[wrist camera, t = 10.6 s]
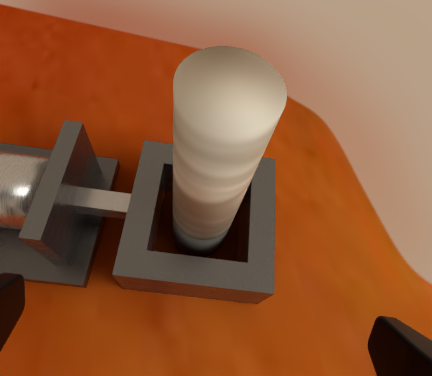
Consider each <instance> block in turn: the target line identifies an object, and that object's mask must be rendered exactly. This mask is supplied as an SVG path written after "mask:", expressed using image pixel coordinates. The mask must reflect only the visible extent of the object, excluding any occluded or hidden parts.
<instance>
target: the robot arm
mask: <svg viewBox="0 0 432 376" xmlns="http://www.w3.org/2000/svg"><path fill="white" fill-rule="evenodd" d="M24 306H25V283H24V277H23V276H22V275H21V274H16V273H7V272H5V273H1V274H0V351H1V350H2V348H3V346H4V344H5V343H6V341H7V339H8V337H9V336H10V334H11V332H12V330H13V328H14V327H15V325H16V323H17V321H18V320H19V318H20V316H21V314H22V312H23V310H24ZM368 351H369V354H370V357H371V360H372V363H373V366H374V368H375V371H376V374H377V376H432V340H430V339H428V338H427V337H425V336H424V335H422V334H420V333H419V332H417V331H416V330H414V329H412V328H411V327H409V326H408V325H406V324H404V323H403V322H401V321H400V320H398V319H396V318H394V317H386V316H379V317H377V318H376V320H375V323H374V325H373V328H372V331H371V334H370V337H369V340H368Z"/></svg>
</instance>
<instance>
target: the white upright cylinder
mask: <svg viewBox="0 0 432 376" xmlns="http://www.w3.org/2000/svg"><path fill="white" fill-rule="evenodd" d="M286 100H287V91H286V86H285V83H284V81H283V79H282V77H281V75H280V74H279V72H278V71H277V70H276V69H275V67H274V66H273V65H271V64H270V63H269V62H268V61H267V60H265V59H264V58H262V57H260V56H259V55H257V54H255V53H253V52H250V51H247V50H244V49H240V48H236V47H228V46H216V47H209V48H205V49H201V50H199V51H196V52H194V53H192V54H191V55H189V56H188V57H187V58H185V59H184V60H183V61H182V62H181V63H180V65H179V66H178V68H177V70H176V72H175V75H174V82H173V239H174V242H175V245H176V246H177V248H178V249H179V250H180V251H181V252H182V253H183V254H185V255H188V256H196V257H204V258H206V257H209V256H211V255H213V254H214V253H216V252H217V251H218V250H219V248H220V247H221V245H222V243H223V241H224V239H225V237H226V235H227V232H228V230H229V228H230V226H231V224H232V221H233V219H234V217H235V215H236V213H237V210H238V208H239V206H240V204H241V202H242V199H243V197H244V195H245V193H246V191H247V188H248V186H249V184H250V182H251V180H252V178H253V175H254V173H255V171H256V169H257V167H258V164H259V162H260V160H261V158H262V156H263V153H264V151H265V149H266V147H267V145H268V142H269V140H270V138H271V136H272V134H273V132H274V129H275V127H276V125H277V123H278V121H279V118H280V116H281V114H282V112H283V110H284V107H285V105H286Z"/></svg>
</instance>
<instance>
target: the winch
mask: <svg viewBox="0 0 432 376" xmlns="http://www.w3.org/2000/svg"><path fill="white" fill-rule="evenodd" d="M119 166H120V164H119V161H118V159H112V158H105V157H98V156H95V153H94V151H93V148H92V146H91V143H90V141H89V138H88V135H87V133H86V130H85V128H84V125H83V123H80V122H73V121H66V120H65V121H64V123H63V126H62V128H61V131H60V133H59V136H58V138H57V141H56V144H55V146H54V149H53V150H48V149H41V148H34V147H27V146H20V145H13V144H6V143H0V274H1V273H5V272H7V273H16V274H21V275H22V276H23V277H24V281H32V282H40V283H49V284H58V285H66V286H75V287H84V288H86V287H87V283H88V279H89V276H90V272H91V268H92V265H93V261H94V257H95V254H96V250H97V246H98V243H99V239H100V235H101V232H102V228H103V224H104V221H105V217H111V218H119V219H125V223H124V227H123V231H122V235H121V239H120V244H119V248H118V252H117V256H116V260H115V264H114V268H113V273H112V276H113V277H114V278H115V279H116V281H117V282H118V283H119V285H120V286H121V287H122V288H123V289H130V290H139V291H148V292H156V293H165V294H174V295H182V296H191V297H200V298H208V299H217V300H225V301H234V302H243V303H251V304H258V303H260V302H261V301H263V300H265V299H267V298H268V297H270V296H272V295H273V294H274V251H275V159H271V158H264V157H262V158H261V160H260V162H259V164H258V167H257V169H256V171H255V173H254V175H253V178H252V180H251V182H250V184H249V186H248V188H247V191H246V193H245V195H244V197H243V199H242V202H241V204H240V214H239V230H238V246H237V261H229V260H221V259H213V258H204V257H196V256H188V255H180V254H172V253H164V252H156V251H154V249H155V243H156V238H157V233H158V227H159V222H160V217H161V211H162V206H163V201H164V195H165V192H171V193H173V144H167V143H160V142H153V141H146V140H144V144H143V148H142V152H141V156H140V160H139V165H138V169H137V173H136V177H135V181H134V185H133V190H132V194H128V193H121V192H113V188H114V184H115V180H116V177H117V173H118V169H119Z"/></svg>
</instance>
